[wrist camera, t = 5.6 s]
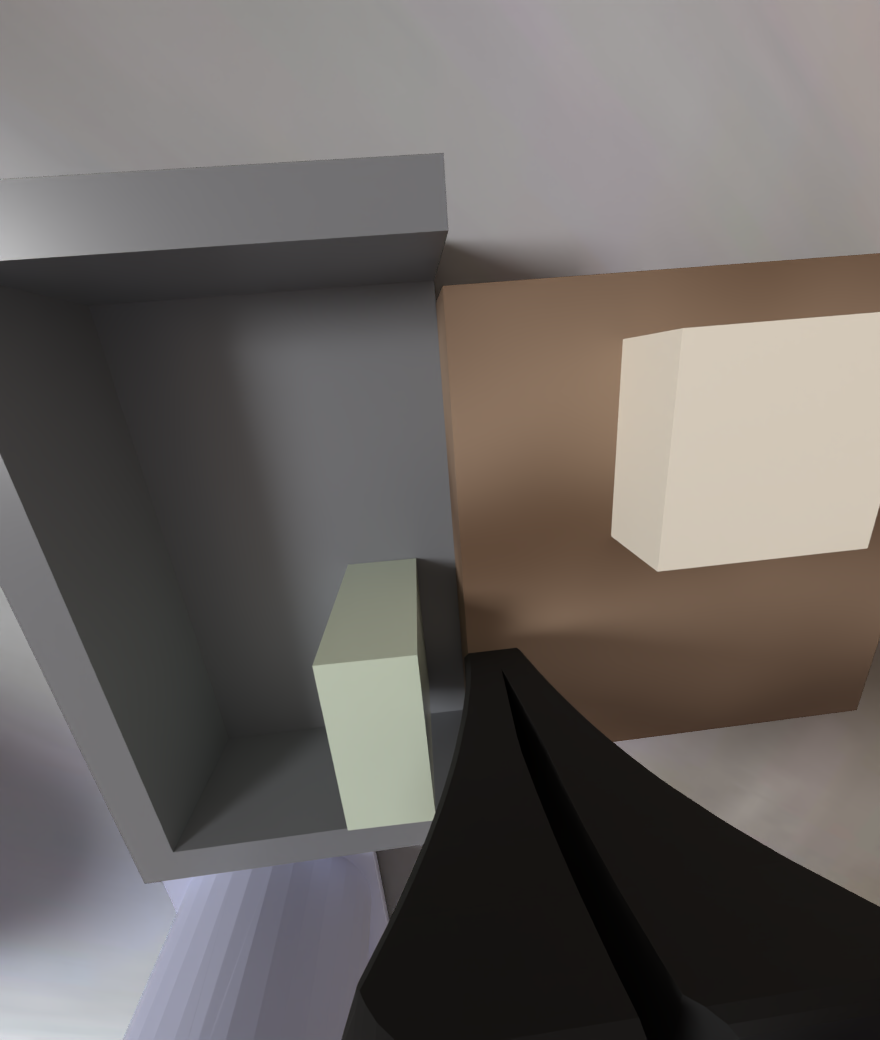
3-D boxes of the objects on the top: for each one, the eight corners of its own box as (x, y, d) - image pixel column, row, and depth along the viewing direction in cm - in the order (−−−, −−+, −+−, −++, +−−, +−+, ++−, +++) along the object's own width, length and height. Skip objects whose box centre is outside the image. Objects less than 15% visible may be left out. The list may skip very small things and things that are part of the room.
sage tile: (436, 820, 9) (347, 830, 9) (429, 682, 14) (368, 688, 14) (417, 654, 8) (312, 665, 8) (415, 558, 12) (347, 564, 12)
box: (465, 720, 15) (486, 836, 11) (212, 752, 14) (144, 883, 11) (429, 238, 10) (443, 153, 6) (44, 264, 10) (-192, 190, 6)
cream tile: (783, 517, 10) (867, 548, 9) (610, 536, 10) (656, 571, 8) (824, 322, 9) (936, 307, 7) (622, 339, 9) (682, 327, 7)
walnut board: (786, 658, 15) (856, 709, 13) (464, 698, 15) (475, 759, 12) (877, 272, 11) (1005, 244, 9) (434, 306, 10) (442, 285, 8)
